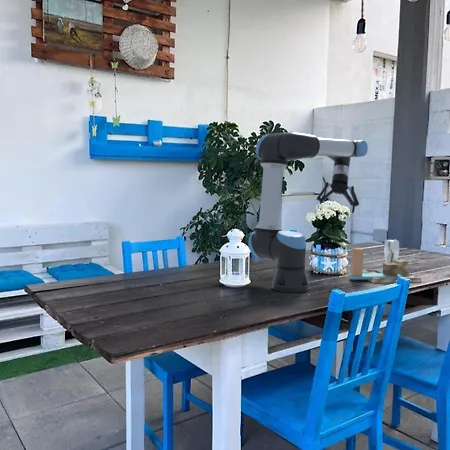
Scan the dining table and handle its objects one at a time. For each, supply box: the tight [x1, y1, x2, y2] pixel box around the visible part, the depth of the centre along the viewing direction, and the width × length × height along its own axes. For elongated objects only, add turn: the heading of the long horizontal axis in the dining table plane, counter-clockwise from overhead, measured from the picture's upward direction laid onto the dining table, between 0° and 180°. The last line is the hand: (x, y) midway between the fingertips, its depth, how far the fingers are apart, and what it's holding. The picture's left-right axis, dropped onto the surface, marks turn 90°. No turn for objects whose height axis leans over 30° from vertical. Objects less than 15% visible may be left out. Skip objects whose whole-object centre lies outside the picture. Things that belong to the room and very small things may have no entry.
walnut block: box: [382, 262, 398, 276], centre depth 211 cm, size 5×5×5 cm
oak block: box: [392, 258, 409, 272], centre depth 220 cm, size 5×5×5 cm
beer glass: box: [383, 239, 400, 263], centre depth 231 cm, size 7×7×15 cm
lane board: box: [362, 268, 422, 284], centre depth 216 cm, size 22×19×2 cm
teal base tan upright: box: [348, 247, 402, 280], centre depth 210 cm, size 22×7×13 cm, turn 93°
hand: (335, 216), depth 226 cm, fingers open, 13 cm apart
